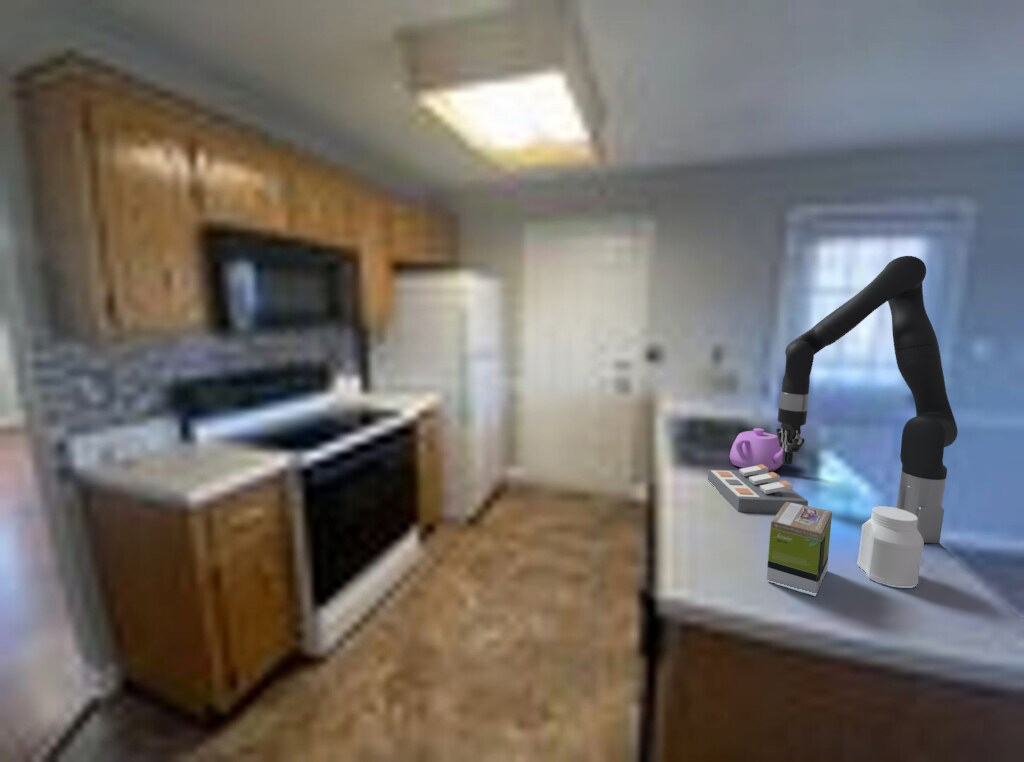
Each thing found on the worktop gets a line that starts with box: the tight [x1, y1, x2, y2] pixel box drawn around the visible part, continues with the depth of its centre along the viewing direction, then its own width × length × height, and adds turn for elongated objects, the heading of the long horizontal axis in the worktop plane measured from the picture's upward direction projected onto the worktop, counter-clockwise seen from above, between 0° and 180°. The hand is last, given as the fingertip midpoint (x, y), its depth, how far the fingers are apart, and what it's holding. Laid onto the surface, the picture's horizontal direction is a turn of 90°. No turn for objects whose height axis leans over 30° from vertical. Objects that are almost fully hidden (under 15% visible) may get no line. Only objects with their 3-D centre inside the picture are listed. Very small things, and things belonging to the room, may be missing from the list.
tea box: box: [766, 502, 833, 594], centre depth 114 cm, size 15×10×15 cm
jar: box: [856, 505, 925, 586], centre depth 115 cm, size 12×10×15 cm
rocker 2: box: [749, 471, 781, 485], centre depth 163 cm, size 4×8×1 cm, turn 87°
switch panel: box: [707, 469, 809, 514], centre depth 164 cm, size 27×20×5 cm
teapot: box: [729, 427, 784, 472], centre depth 189 cm, size 23×21×15 cm
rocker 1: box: [738, 464, 770, 476], centre depth 171 cm, size 4×8×1 cm, turn 87°
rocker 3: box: [760, 479, 794, 494], centre depth 155 cm, size 4×8×1 cm, turn 87°
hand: (786, 463), depth 155 cm, fingers closed
